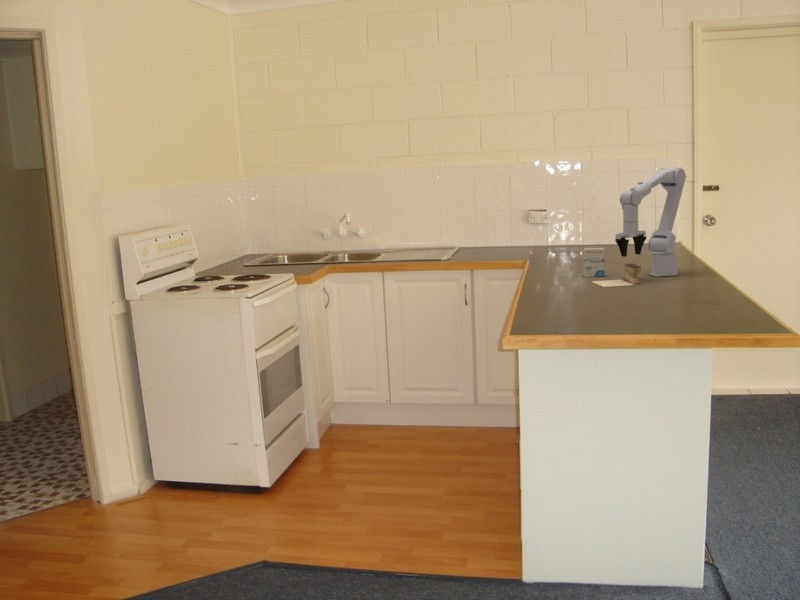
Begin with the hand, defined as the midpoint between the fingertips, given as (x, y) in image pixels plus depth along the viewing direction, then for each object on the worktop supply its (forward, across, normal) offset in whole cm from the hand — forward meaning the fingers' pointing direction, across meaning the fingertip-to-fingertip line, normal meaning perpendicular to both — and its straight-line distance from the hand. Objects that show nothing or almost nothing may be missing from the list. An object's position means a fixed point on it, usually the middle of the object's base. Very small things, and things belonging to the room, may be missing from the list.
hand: (631, 255), depth 306 cm
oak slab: (+10, +3, +4) cm, 11 cm away
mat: (+10, +10, 0) cm, 15 cm away
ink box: (+10, 0, -20) cm, 23 cm away
